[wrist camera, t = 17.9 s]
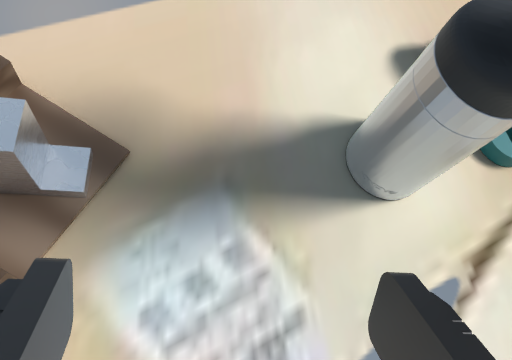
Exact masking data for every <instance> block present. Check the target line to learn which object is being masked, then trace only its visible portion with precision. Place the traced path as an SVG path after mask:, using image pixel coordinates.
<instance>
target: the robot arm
mask: <svg viewBox="0 0 512 360" xmlns="http://www.w3.org/2000/svg"><path fill="white" fill-rule="evenodd" d="M511 127H512V0H472V1H470V2H468V3H467V4H465V5H464V6H463V7H461V8H460V9H459V10H458V11H457V12H456V13H455V14H454V15H453V16H452V17H451V18H450V20H449V21H448V22H447V23H446V24H445V26H444V27H443V28H442V29H441V31H440V32H439V33H438V34H437V35H436V36H435V38H434V39H433V40H432V41H431V42H430V44H429V45H428V46H427V47H426V48H425V50H424V51H423V52H422V53H421V55H420V56H419V57H418V58H417V59H416V61H415V62H414V63H413V64H412V65H411V67H410V68H409V69H408V70H407V71H406V73H405V74H404V75H403V76H402V77H401V79H400V80H399V81H398V82H397V83H396V85H395V86H394V87H393V88H392V89H391V90H390V92H389V93H388V94H387V95H386V96H385V98H384V99H383V100H382V101H381V102H380V104H379V105H378V106H377V107H376V108H375V110H374V111H373V112H372V113H371V114H370V116H369V117H368V118H367V119H366V120H365V121H364V122H363V124H362V125H361V126H360V127H359V128H358V130H357V131H356V132H355V133H354V134H353V136H352V137H351V139H350V140H349V142H348V145H347V149H346V160H347V165H348V168H349V170H350V173H351V175H352V176H353V178H354V179H355V181H356V182H357V183H358V184H359V185H360V186H361V187H362V188H363V189H364V190H366V191H367V192H368V193H370V194H372V195H374V196H376V197H379V198H382V199H386V200H398V199H403V198H405V197H408V196H410V195H411V194H413V193H414V192H416V191H417V190H419V189H420V188H422V187H423V186H425V185H426V184H428V183H429V182H431V181H432V180H434V179H435V178H437V177H438V176H440V175H441V174H443V173H444V172H446V171H447V170H449V169H450V168H452V167H453V166H455V165H456V164H458V163H459V162H461V161H462V160H464V159H465V158H467V157H468V156H470V155H471V154H473V153H474V152H476V151H477V150H479V149H480V148H482V147H483V146H484V145H486V144H487V143H489V142H490V141H492V140H493V139H495V138H496V137H498V136H499V135H501V134H502V133H504V132H505V131H507V130H508V129H510V128H511ZM461 320H462V319H461V318H460V317H459V316H458V315H457V313H456V312H455V311H454V310H453V309H452V307H451V306H450V305H448V304H447V303H446V302H444V301H443V300H442V299H440V298H439V297H438V296H436V295H435V294H433V293H432V292H429V291H428V290H427V289H426V287H425V286H424V285H423V284H422V282H421V281H420V280H419V279H418V277H417V276H416V275H414V274H413V273H394V272H386V273H384V274H383V275H382V276H381V278H380V281H379V285H378V288H377V292H376V295H375V299H374V302H373V306H372V309H371V313H370V316H369V321H368V330H369V336H370V339H371V342H372V344H373V346H374V348H375V350H376V352H377V354H378V355H379V357H380V359H381V360H496V359H495V358H494V357H493V356H492V355H491V354H490V352H489V351H488V350H487V349H486V348H485V346H484V345H483V344H482V343H481V342H480V341H479V339H478V338H477V337H476V336H475V335H474V334H472V331H471V330H470V329H469V328H468V326H467V325H466V324H465V323H464V322H462V321H461ZM72 322H73V279H72V262H71V260H70V259H56V258H36V259H35V260H34V261H33V263H32V264H31V266H30V268H29V269H28V271H27V273H26V274H25V276H24V278H23V279H7V280H5V281H4V282H3V283H1V284H0V360H61V359H62V356H63V354H64V351H65V348H66V345H67V343H68V340H69V337H70V333H71V328H72Z"/></svg>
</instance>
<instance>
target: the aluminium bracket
mask: <svg viewBox="0 0 512 360" xmlns="http://www.w3.org/2000/svg"><path fill="white" fill-rule="evenodd" d="M92 160H93V153H92V150H91V148H85V147H72V146H60V145H49V143H48V141H47V139H46V137H45V135H44V133H43V132H42V130H41V128H40V126H39V124H38V122H37V120H36V118H35V117H34V115H33V113H32V111H31V109H30V107H29V105H28V103H27V101H26V100H24V99H13V98H3V97H0V193H14V194H30V195H47V196H64V197H81V198H87V191H88V185H89V179H90V172H91V166H92Z"/></svg>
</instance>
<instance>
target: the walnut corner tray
mask: <svg viewBox="0 0 512 360" xmlns="http://www.w3.org/2000/svg"><path fill="white" fill-rule="evenodd" d="M0 97H3V98H13V99H24V100H26V101H27V103H28V105H29V107H30V109H31V111H32V113H33V115H34V117H35V118H36V120H37V122H38V124H39V126H40V128H41V130H42V132H43V133H44V135H45V137H46V139H47V141H48V143H49V145H60V146H72V147H85V148H91V150H92V153H93V160H92V166H91V172H90V179H89V185H88V191H87V198H81V197H64V196H47V195H30V194H14V193H0V284H1V283H3V282H4V281H5V280H7V279H23V278H24V276H25V274H26V273H27V271H28V269H29V268H30V266H31V264H32V263H33V261H34V260H35V259H36V258H42V257H43V256H44V255H45V254H46V253H47V251H48V250H49V249H50V248H51V247H52V245H53V244H54V243H55V242H56V241H57V239H58V238H59V237H60V236H61V235H62V233H63V232H64V231H65V230H66V229H67V228H68V226H69V225H70V224H71V223H72V222H73V220H74V219H75V218H76V217H77V216H78V214H79V213H80V212H81V211H82V210H83V208H84V207H85V206H86V205H87V204H88V202H89V201H90V200H91V199H92V198H93V196H94V195H95V194H96V193H97V192H98V191H99V189H100V188H101V187H102V186H103V185H104V183H105V182H106V181H107V180H108V179H109V177H110V176H111V175H112V174H113V173H114V171H115V170H116V169H117V168H118V167H119V165H120V164H121V163H122V162H123V161H124V159H125V158H126V157H127V156H128V155H129V153H130V151H129V150H127V149H126V148H124V147H123V146H121V145H119V144H118V143H116V142H114V141H113V140H111V139H110V138H108V137H106V136H105V135H103V134H102V133H100V132H98V131H97V130H95V129H94V128H92V127H90V126H89V125H87V124H86V123H84V122H82V121H81V120H79V119H78V118H76V117H74V116H73V115H71V114H70V113H68V112H66V111H65V110H63V109H62V108H60V107H58V106H57V105H55V104H54V103H52V102H50V101H49V100H47V99H46V98H44V97H42V96H41V95H39V94H38V93H36V92H34V91H33V90H31V89H29V88H28V87H26V86H25V85H23V84H22V83H21V81H20V79H19V78H18V76H17V74H16V72H15V70H14V68H13V66H12V64H11V62H10V61H9V60H7V59H5V58H4V57H2V56H1V55H0Z"/></svg>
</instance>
